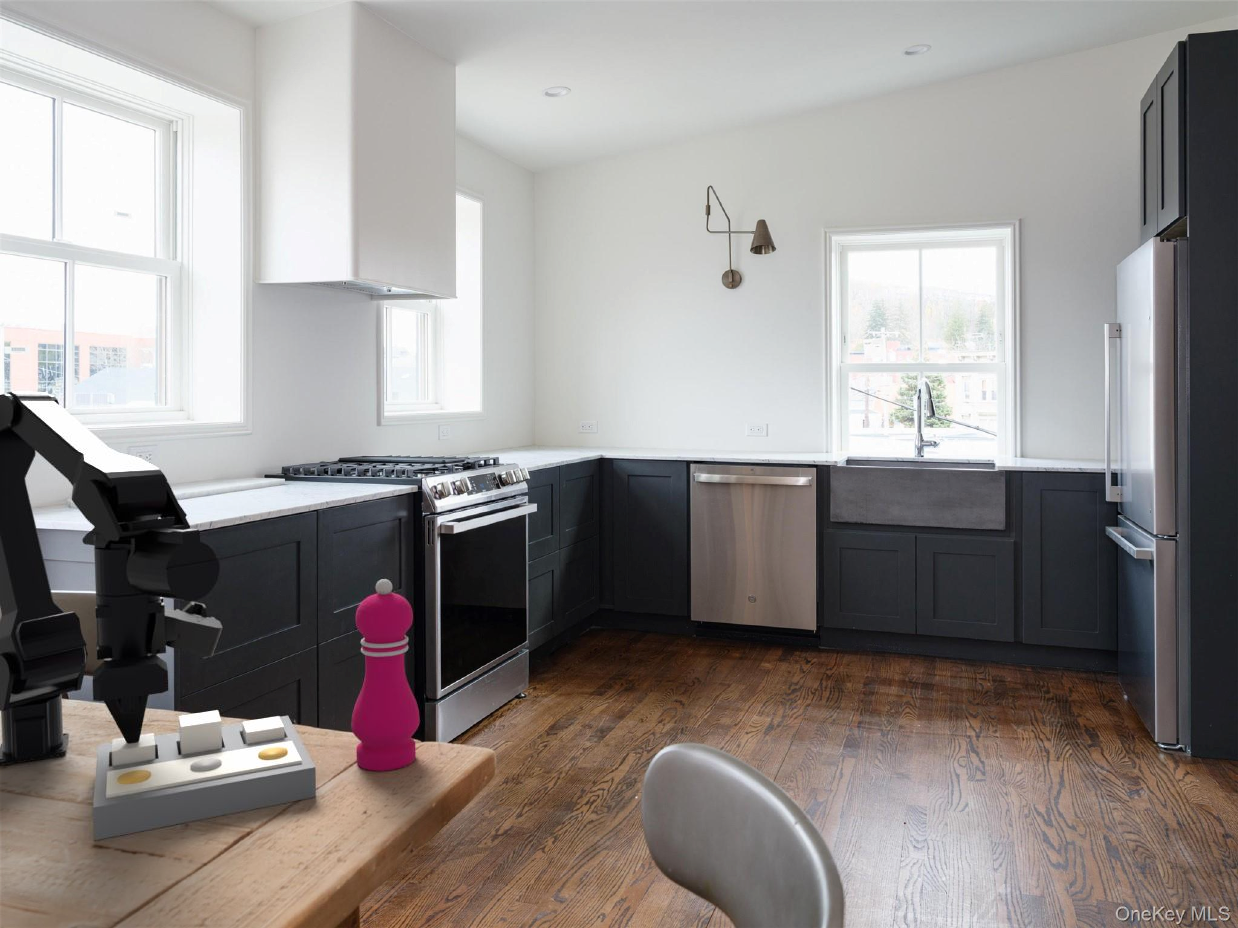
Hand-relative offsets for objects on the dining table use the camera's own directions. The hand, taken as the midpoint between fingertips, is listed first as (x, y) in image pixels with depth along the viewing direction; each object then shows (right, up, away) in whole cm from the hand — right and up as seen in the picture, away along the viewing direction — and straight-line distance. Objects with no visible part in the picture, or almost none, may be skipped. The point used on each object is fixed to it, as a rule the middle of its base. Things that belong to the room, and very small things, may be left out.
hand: (133, 741), depth 92 cm
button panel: (+7, -4, 0) cm, 8 cm away
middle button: (+6, -2, +3) cm, 6 cm away
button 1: (0, -3, 0) cm, 3 cm away
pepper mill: (+24, -4, +7) cm, 25 cm away
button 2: (+11, -3, +6) cm, 13 cm away
